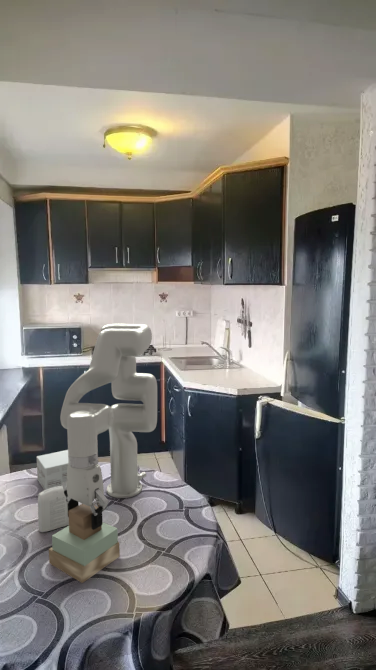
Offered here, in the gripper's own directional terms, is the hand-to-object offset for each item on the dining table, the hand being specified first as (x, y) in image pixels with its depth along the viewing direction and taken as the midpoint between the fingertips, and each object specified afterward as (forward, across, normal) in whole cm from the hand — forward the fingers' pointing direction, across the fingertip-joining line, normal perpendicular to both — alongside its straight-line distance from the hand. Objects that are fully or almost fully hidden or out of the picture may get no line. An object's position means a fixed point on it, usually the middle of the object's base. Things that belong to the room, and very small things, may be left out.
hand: (85, 521), depth 115 cm
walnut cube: (+3, 0, 0) cm, 3 cm away
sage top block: (+7, 0, 0) cm, 7 cm away
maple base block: (+11, 0, 0) cm, 11 cm away
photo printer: (+11, +20, -5) cm, 23 cm away
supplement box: (+11, +44, -26) cm, 52 cm away
